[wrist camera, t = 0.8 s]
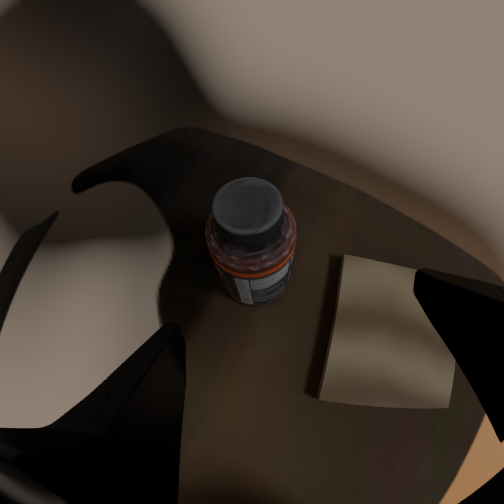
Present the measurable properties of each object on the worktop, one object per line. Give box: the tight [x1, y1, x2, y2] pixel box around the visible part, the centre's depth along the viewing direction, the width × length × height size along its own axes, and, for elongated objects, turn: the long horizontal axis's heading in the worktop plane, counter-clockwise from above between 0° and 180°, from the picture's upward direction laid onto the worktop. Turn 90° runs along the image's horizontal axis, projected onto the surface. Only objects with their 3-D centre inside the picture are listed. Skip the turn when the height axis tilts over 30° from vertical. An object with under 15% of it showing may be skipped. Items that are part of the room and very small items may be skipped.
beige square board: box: [316, 254, 455, 408], centre depth 21 cm, size 13×13×1 cm
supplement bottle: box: [205, 177, 297, 307], centre depth 20 cm, size 6×6×11 cm
